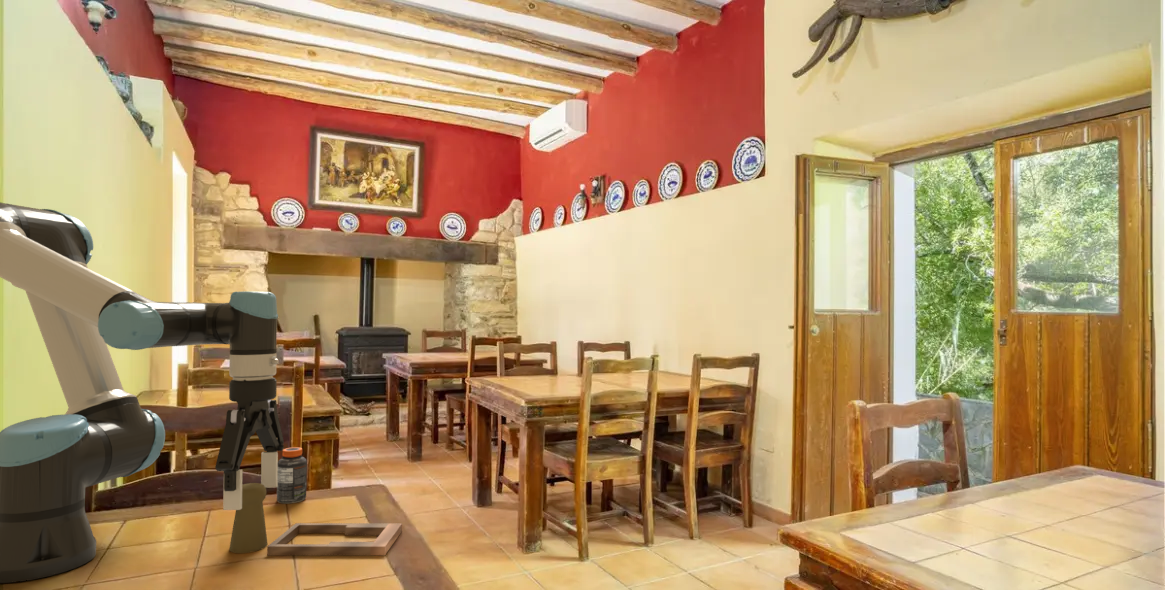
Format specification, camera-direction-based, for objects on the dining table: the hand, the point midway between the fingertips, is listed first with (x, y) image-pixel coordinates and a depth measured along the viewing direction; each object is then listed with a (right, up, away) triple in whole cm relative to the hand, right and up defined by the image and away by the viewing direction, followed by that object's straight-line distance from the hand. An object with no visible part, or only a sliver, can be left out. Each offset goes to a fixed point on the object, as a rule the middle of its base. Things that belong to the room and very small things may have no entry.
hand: (252, 497), depth 114 cm
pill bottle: (-6, -10, +28) cm, 30 cm away
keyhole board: (+14, -9, +2) cm, 17 cm away
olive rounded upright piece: (-1, -9, 0) cm, 9 cm away
